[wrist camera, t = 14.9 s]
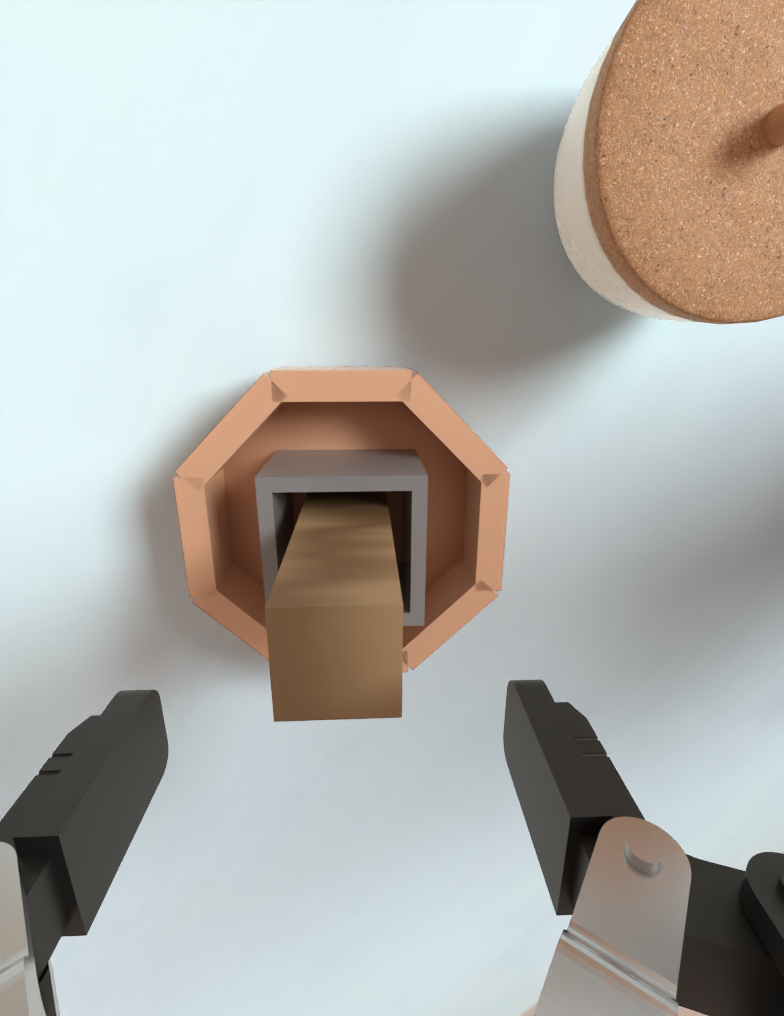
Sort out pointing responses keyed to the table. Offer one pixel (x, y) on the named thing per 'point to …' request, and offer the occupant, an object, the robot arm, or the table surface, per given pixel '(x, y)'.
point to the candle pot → (344, 468)
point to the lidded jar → (681, 164)
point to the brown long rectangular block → (337, 613)
